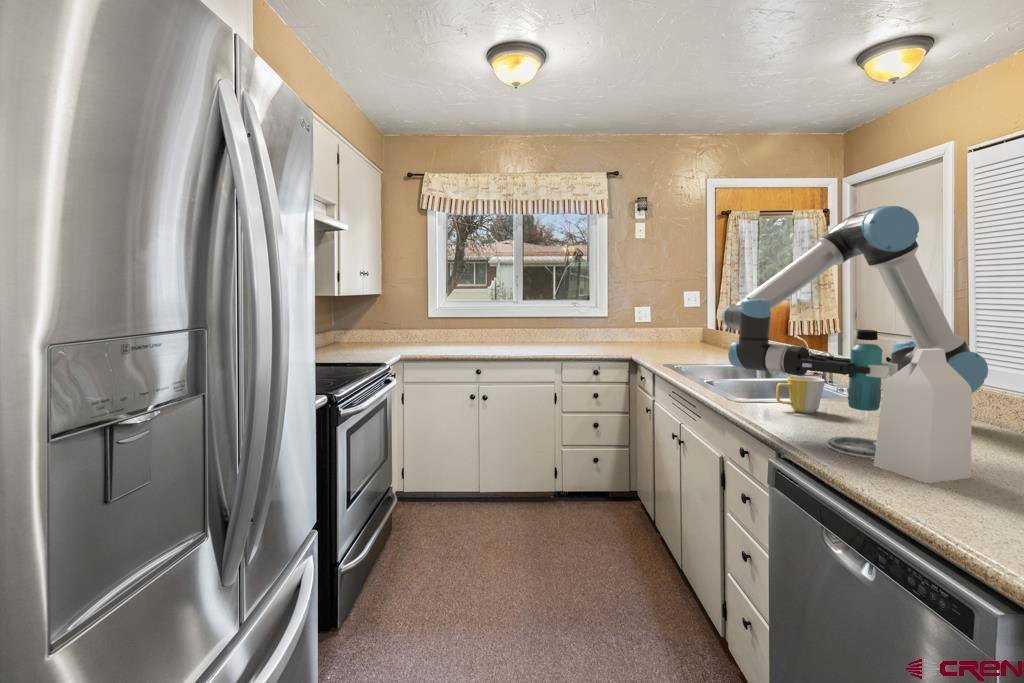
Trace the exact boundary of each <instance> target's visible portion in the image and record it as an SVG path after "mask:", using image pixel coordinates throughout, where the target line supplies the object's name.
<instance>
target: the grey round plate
mask: <svg viewBox="0 0 1024 683" xmlns="http://www.w3.org/2000/svg"><path fill="white" fill-rule="evenodd" d="M876 442H877V439H876V440H875V439H870V438H865V437H857V436H856V437H855V436H835V437H831V438H829V439H828V440H827V444H826V445H827V448H828V447H829V448H828V449H830V450H831V449H832V451H834V452H836V451H837V452H836V453H839V452H840V454H842V453H843V455H846V454H847V456H850V455H852V457H855V456H858V458H862V457H865V458H864V459H870V458H875V450H876Z"/></svg>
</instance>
